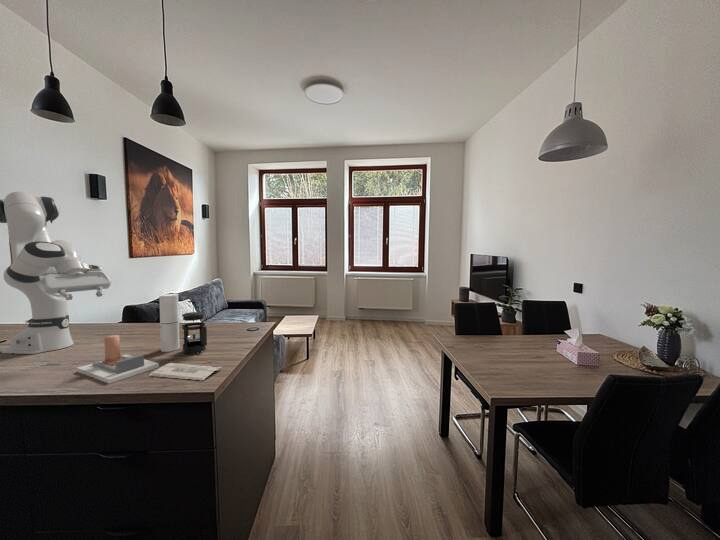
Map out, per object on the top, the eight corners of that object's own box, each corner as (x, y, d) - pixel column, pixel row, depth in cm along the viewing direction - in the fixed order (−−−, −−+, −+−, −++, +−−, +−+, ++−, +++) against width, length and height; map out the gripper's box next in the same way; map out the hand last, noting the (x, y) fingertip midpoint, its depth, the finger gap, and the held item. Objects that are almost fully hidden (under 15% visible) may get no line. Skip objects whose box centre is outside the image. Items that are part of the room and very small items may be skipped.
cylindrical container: (170, 352, 129) (168, 296, 127) (156, 351, 130) (155, 295, 129) (183, 347, 136) (181, 294, 134) (170, 346, 137) (168, 293, 136)
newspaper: (225, 369, 112) (224, 363, 112) (203, 386, 101) (202, 380, 100) (174, 364, 116) (173, 358, 116) (147, 380, 104) (146, 374, 104)
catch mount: (77, 371, 107) (76, 357, 107) (126, 357, 122) (126, 344, 121) (108, 383, 98) (108, 367, 97) (158, 367, 112) (158, 353, 112)
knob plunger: (101, 363, 110) (100, 337, 109) (117, 359, 115) (116, 334, 114) (108, 366, 108) (107, 339, 107) (124, 361, 112) (123, 335, 112)
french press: (175, 352, 128) (174, 301, 127) (194, 346, 137) (193, 298, 136) (196, 356, 125) (195, 302, 123) (213, 349, 134) (213, 299, 132)
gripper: (39, 268, 111) (51, 295, 107) (105, 266, 129) (117, 289, 125) (35, 279, 113) (47, 306, 109) (101, 275, 131) (113, 298, 128)
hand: (85, 297), depth 117 cm, fingers open, 8 cm apart
